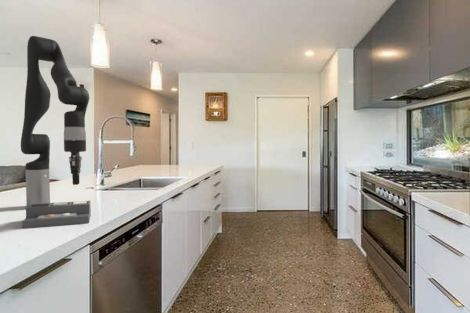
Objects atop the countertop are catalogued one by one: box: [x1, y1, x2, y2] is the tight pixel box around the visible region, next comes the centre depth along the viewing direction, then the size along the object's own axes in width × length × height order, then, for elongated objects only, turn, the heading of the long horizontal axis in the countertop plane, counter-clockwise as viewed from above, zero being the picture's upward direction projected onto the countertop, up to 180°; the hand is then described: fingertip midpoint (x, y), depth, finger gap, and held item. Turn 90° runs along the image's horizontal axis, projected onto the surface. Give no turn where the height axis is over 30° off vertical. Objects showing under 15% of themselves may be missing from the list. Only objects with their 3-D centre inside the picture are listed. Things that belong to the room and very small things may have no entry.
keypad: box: [22, 200, 92, 229], centre depth 120 cm, size 14×21×6 cm
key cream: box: [73, 200, 88, 205], centre depth 124 cm, size 5×5×2 cm
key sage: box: [52, 201, 69, 206], centre depth 122 cm, size 5×5×2 cm
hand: (76, 184), depth 123 cm, fingers closed
